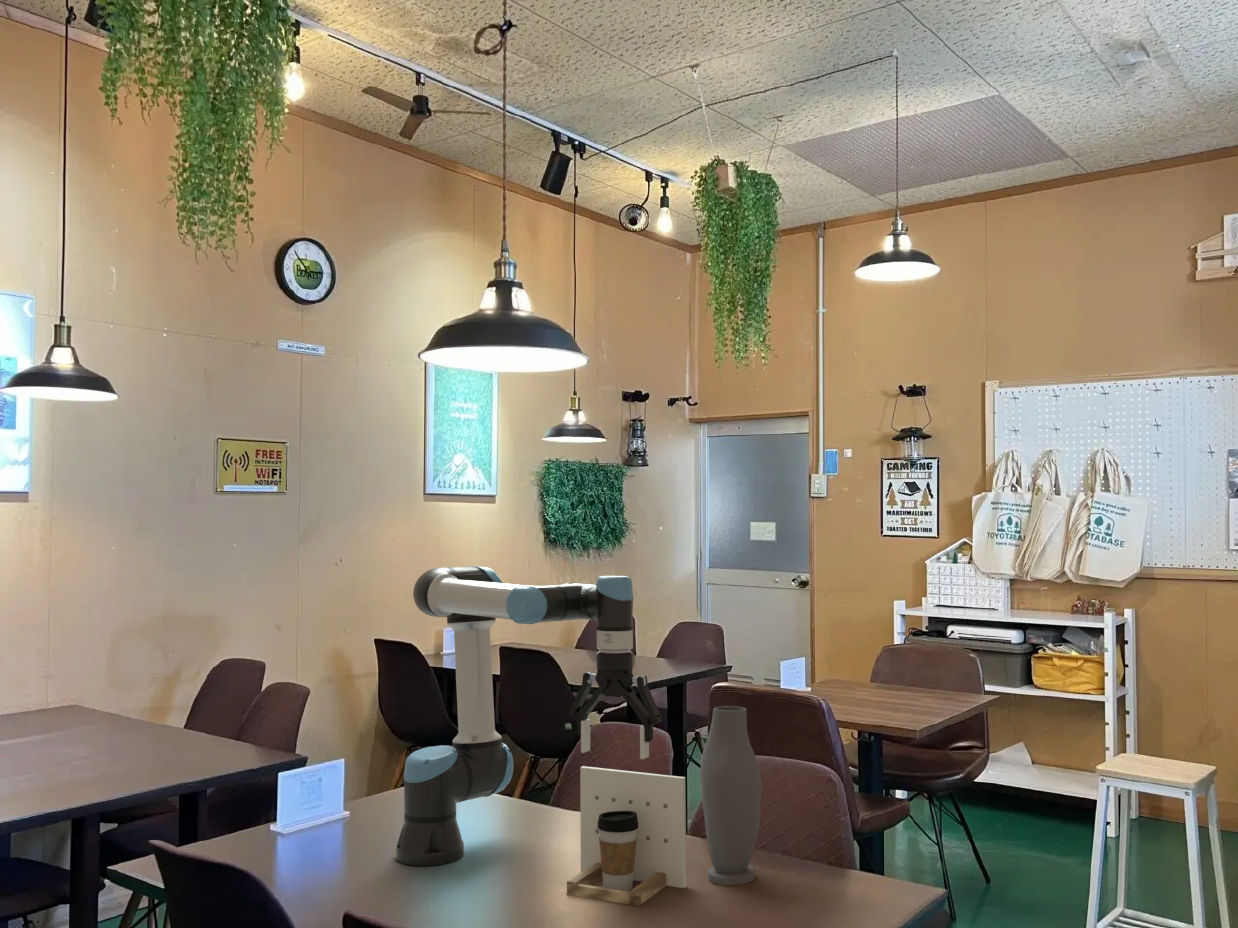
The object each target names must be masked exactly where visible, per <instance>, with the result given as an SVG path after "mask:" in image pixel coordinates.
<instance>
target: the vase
mask: <svg viewBox="0 0 1238 928" xmlns="http://www.w3.org/2000/svg"><path fill="white" fill-rule="evenodd" d="M747 718H748V717H747V708H745V707H743V706H735V705H723V706H722V705H721V706H715V707H714V708H713V709H712V719H711V725H710V728H709V732H708V735H707V739H706V741H705V745H704V748H703V751H702V755H701V760H700V772H699V773H700V774H699V775H700V782H699V783H700V792H701V800H702V801H701V802H702V809H703V816H704V817H703V818H704V827H705V834H706V840H707V847H708V854H709V859H710V862H711V865H712V866H711V867H709V868H708V871H707V873H708V874H707V875H708V877H707V878H708V881H710V882H711V883H712V884H716V885H720V886H739V885H744V884H747V883H750V882H752V881H754V880H755V878H756V873H755V872H756V870H755V867H754V866H752V865H750V862H751V859H752V855H753V854H754V850H755V846H756V843H757V838H758V836H759V835H758V834H759V832H760V825H761V824H760V823H761V806H762V805H761V804H762V803H761V800H762V778H761V771H760V766H759V763H758V761H757V757H756V755H755V751H754V750H753V747H752V745H751V742H750V738H749V734H748V721H747Z"/></svg>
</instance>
